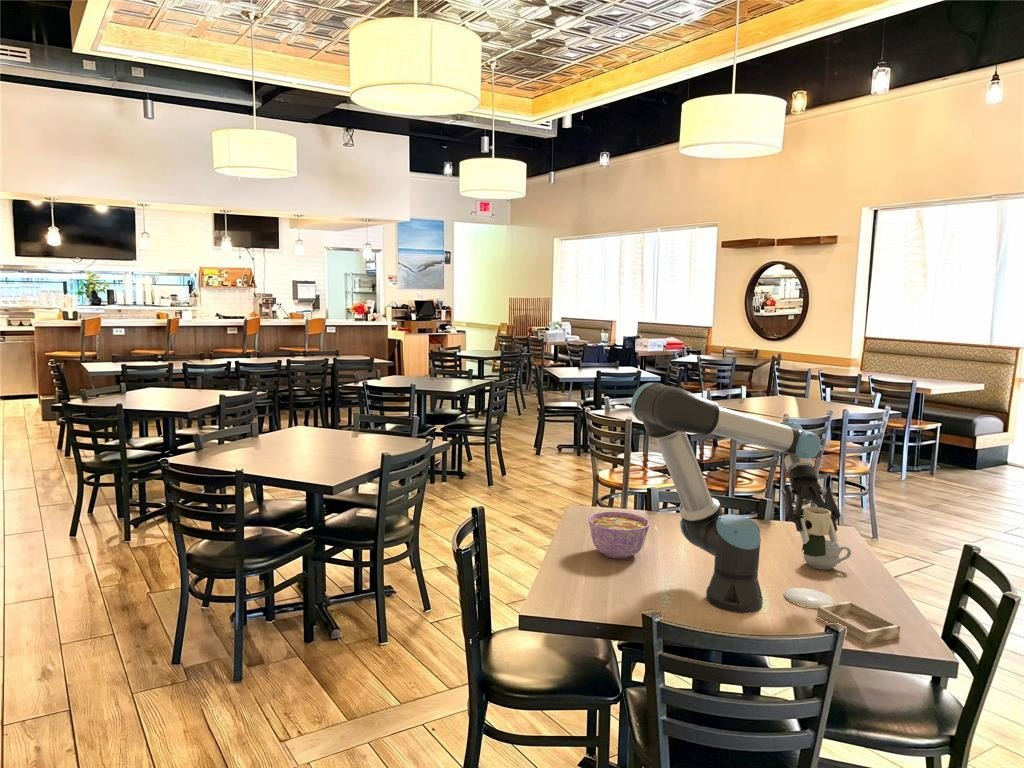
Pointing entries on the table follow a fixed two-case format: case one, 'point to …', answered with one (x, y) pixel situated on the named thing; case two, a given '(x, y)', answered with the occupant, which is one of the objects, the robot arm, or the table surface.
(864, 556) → the table surface
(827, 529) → the character mug
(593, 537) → the bowl of food
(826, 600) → the white saucer
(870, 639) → the wooden tray
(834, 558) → the teacup
